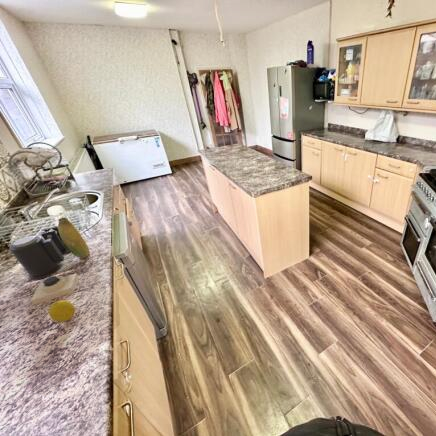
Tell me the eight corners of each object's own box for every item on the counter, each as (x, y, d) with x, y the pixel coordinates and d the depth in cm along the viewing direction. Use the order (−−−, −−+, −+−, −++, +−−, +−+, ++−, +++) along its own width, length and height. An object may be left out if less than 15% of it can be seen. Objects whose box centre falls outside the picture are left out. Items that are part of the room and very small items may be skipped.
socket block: (34, 304, 80) (27, 296, 78) (42, 288, 87) (36, 280, 85) (73, 292, 85) (68, 284, 83) (79, 277, 92) (73, 269, 90)
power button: (44, 288, 82) (41, 284, 81) (47, 281, 85) (45, 278, 84) (57, 284, 84) (54, 280, 83) (60, 278, 86) (57, 274, 86)
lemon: (53, 325, 73) (38, 308, 69) (71, 311, 77) (58, 294, 73) (66, 329, 71) (52, 311, 67) (84, 314, 76) (71, 296, 72)
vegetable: (95, 255, 104) (73, 216, 94) (79, 264, 99) (53, 224, 89) (89, 252, 107) (66, 213, 97) (73, 260, 102) (47, 220, 92)
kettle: (26, 284, 90) (-1, 251, 82) (35, 269, 97) (11, 238, 90) (65, 272, 95) (42, 241, 87) (71, 259, 102) (51, 229, 94)
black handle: (43, 261, 102) (26, 239, 96) (49, 250, 109) (34, 229, 103) (77, 252, 107) (63, 230, 101) (81, 242, 114) (68, 221, 108)
